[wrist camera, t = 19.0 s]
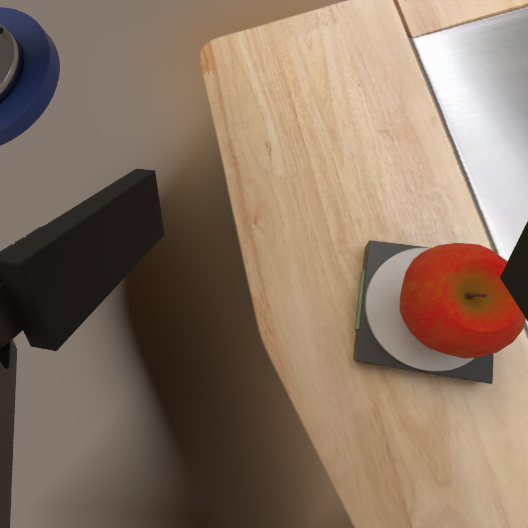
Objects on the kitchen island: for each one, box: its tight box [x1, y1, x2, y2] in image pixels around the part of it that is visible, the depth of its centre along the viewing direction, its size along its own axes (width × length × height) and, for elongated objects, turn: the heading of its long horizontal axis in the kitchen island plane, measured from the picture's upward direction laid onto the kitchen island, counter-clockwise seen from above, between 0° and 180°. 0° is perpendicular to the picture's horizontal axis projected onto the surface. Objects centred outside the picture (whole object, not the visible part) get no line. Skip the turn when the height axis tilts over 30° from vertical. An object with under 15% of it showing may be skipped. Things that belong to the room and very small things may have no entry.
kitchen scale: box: [353, 241, 493, 384], centre depth 34 cm, size 12×12×3 cm
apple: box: [399, 243, 526, 359], centre depth 27 cm, size 9×8×11 cm
